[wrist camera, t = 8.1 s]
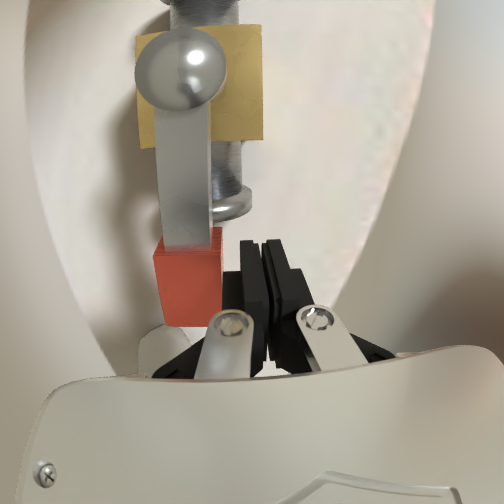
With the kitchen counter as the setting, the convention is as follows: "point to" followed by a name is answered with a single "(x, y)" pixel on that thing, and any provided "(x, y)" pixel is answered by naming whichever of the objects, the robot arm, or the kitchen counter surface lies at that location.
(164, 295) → the valve lever
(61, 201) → the kitchen counter surface
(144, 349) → the salt shaker
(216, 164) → the valve pipe
